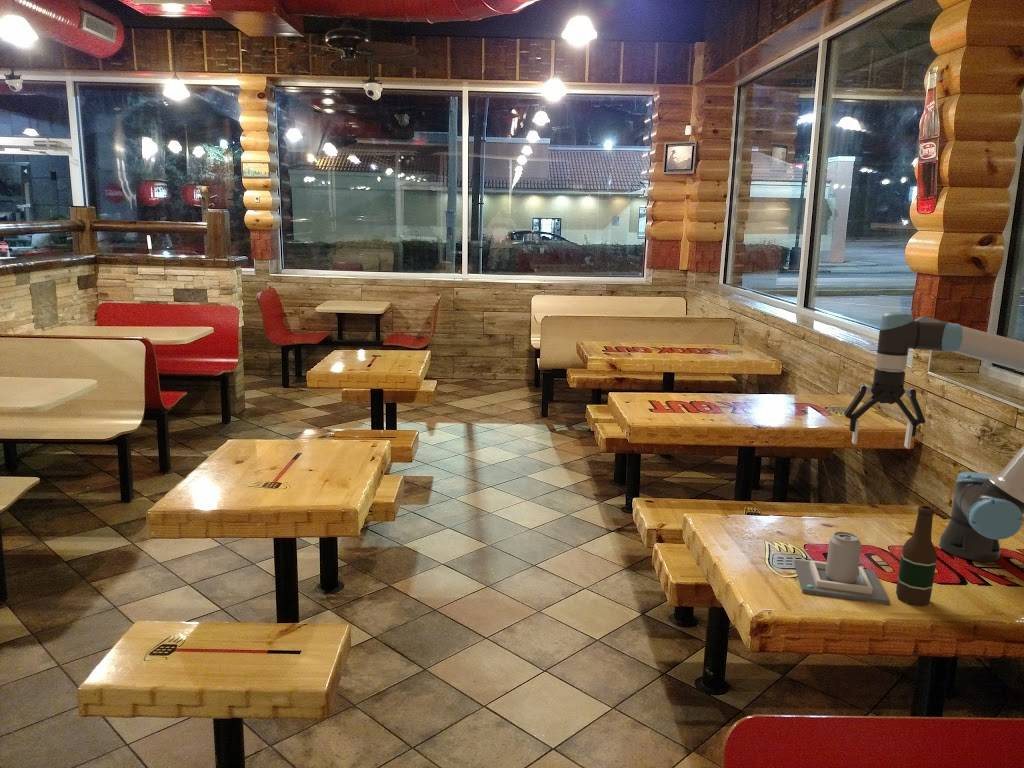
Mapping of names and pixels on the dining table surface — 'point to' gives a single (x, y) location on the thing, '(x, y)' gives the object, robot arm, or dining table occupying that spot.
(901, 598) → the beer bottle
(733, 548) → the dining table surface
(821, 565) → the dock
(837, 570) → the can
